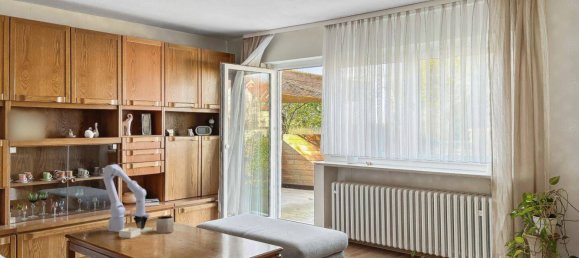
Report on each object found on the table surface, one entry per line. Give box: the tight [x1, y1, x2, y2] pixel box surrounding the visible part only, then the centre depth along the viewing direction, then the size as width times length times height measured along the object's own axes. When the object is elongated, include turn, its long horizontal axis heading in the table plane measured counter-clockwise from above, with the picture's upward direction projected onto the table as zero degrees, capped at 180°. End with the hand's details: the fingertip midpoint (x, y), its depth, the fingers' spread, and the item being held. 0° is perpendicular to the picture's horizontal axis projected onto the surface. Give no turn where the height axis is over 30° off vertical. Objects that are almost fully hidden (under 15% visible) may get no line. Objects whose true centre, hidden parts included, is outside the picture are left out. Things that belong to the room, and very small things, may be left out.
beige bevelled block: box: [118, 227, 142, 239], centre depth 280 cm, size 9×9×4 cm
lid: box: [136, 221, 154, 234], centre depth 296 cm, size 11×11×5 cm
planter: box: [155, 215, 175, 235], centre depth 292 cm, size 11×11×10 cm
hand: (140, 227), depth 296 cm, fingers closed on lid, 3 cm apart
